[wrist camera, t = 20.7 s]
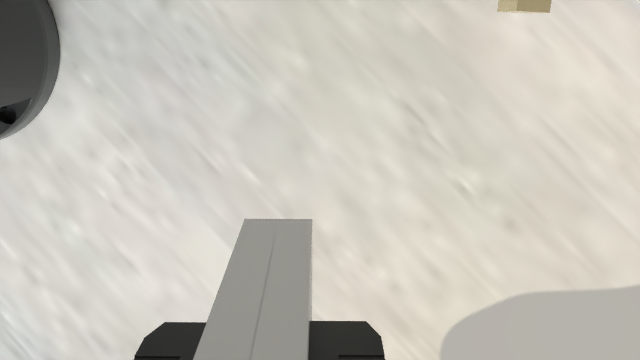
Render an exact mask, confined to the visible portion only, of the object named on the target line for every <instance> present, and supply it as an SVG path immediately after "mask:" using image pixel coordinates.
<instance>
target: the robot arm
mask: <svg viewBox="0 0 640 360" xmlns="http://www.w3.org/2000/svg"><path fill="white" fill-rule="evenodd" d="M58 67H59V40H58V34H57V29H56V25H55V21H54V18H53V15H52V12H51V10H50V7H49V5H48V3H47V1H46V0H0V140H1V139H3V138H6V137H8V136H10V135H12V134H14V133H16V132H18V131H19V130H21V129H22V128H24V127H25V126H27V125H28V124H29V123H30V122H31V121H32V120H33V119H34V118H35V117H36V116H37V115H38V114H39V113H40V111H41V110H42V109H43V107H44V106H45V104H46V103H47V101H48V99H49V97H50V95H51V93H52V90H53V88H54V85H55V82H56V78H57V73H58ZM134 360H385V358H384V350H383V345H382V340H381V336H380V335H379V334H378V333H377V332H376V331H375V330H374V329H373V328H372V327H371V326H370V325H369V324H368V323H367V322H366V321H312V219H245V220H244V223H243V225H242V228H241V231H240V233H239V236H238V239H237V242H236V244H235V247H234V250H233V252H232V255H231V258H230V261H229V263H228V266H227V269H226V271H225V274H224V277H223V280H222V282H221V285H220V288H219V290H218V293H217V296H216V299H215V301H214V304H213V307H212V309H211V312H210V315H209V318H208V320H207V323H197V322H165V323H163V324H162V325H161V326H159V327H158V328H157V329H155V330H154V331H153V332H151V333H150V334H149V335H147V336H146V337H145V338H144V340H143V342H142V343H141V345H140V347H139V349H138V351H137V353H136V354H135V358H134Z"/></svg>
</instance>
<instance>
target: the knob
mask: <svg viewBox="0 0 640 360" xmlns="http://www.w3.org/2000/svg"><path fill="white" fill-rule="evenodd" d="M550 6H551V0H499V3H498V11H497V12H514V13H550Z"/></svg>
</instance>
